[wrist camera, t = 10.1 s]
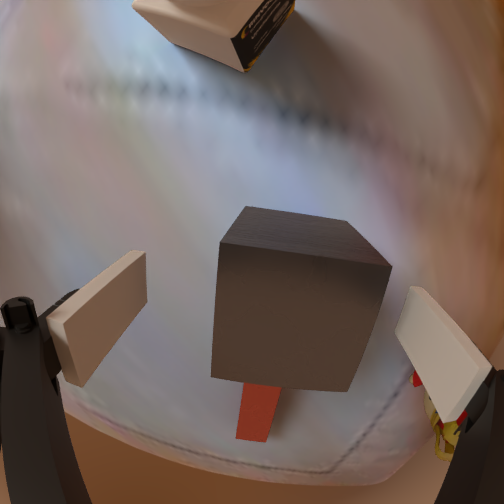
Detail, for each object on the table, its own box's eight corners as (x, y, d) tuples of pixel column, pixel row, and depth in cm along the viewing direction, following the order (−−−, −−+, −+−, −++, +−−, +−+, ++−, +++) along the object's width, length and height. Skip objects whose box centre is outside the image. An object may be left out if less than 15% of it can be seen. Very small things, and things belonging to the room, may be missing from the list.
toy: (443, 301, 22) (534, 414, 7) (465, 341, 23) (534, 440, 8) (384, 351, 24) (437, 487, 9) (414, 384, 25) (460, 495, 10)
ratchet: (254, 207, 21) (240, 236, 13) (325, 217, 20) (352, 252, 13) (229, 418, 28) (217, 476, 20) (276, 424, 28) (272, 483, 20)
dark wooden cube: (245, 206, 18) (219, 241, 10) (346, 221, 17) (392, 266, 10) (235, 298, 20) (211, 376, 12) (326, 310, 19) (347, 391, 12)
